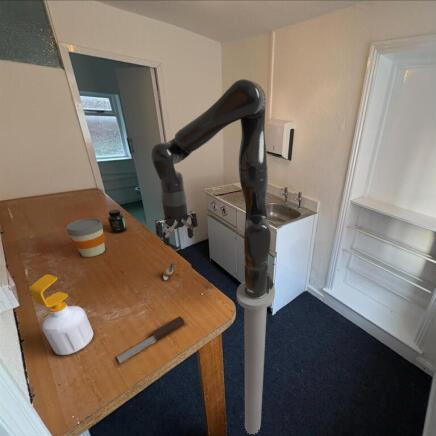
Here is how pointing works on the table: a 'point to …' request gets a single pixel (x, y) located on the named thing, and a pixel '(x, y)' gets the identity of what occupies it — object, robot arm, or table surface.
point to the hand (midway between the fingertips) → (179, 241)
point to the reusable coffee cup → (87, 236)
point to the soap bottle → (62, 320)
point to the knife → (153, 338)
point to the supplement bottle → (116, 221)
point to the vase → (169, 271)
